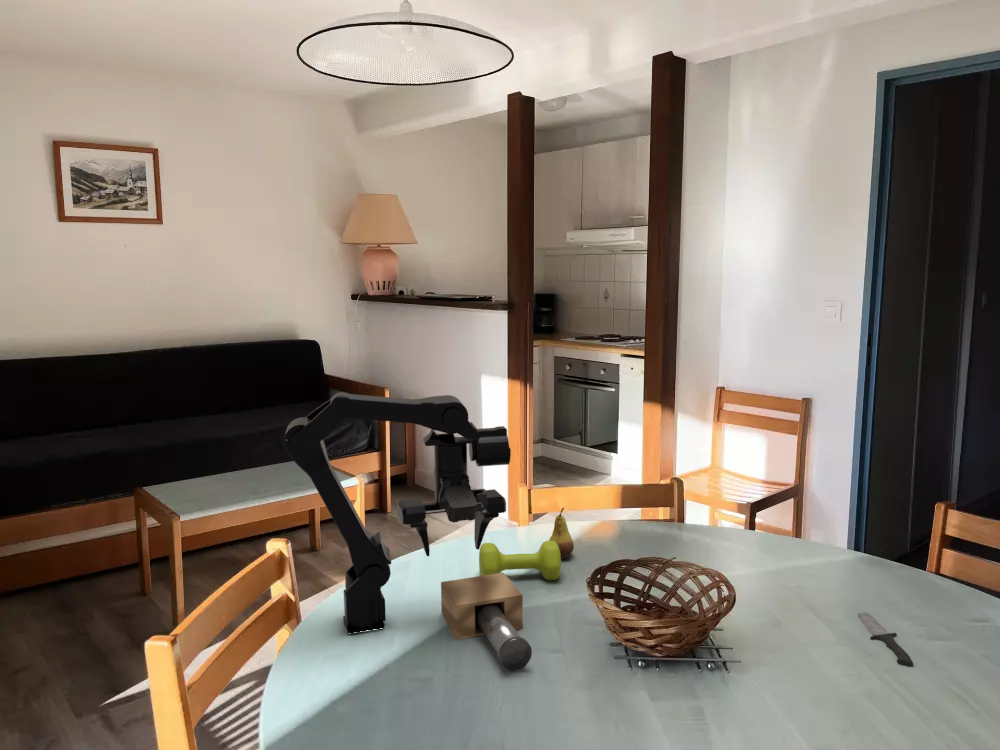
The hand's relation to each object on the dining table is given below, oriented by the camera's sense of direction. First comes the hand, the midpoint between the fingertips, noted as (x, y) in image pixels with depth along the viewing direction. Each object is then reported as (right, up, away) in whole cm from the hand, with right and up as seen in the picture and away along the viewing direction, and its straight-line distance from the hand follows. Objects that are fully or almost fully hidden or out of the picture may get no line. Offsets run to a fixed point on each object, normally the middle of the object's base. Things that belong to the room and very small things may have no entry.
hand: (452, 552), depth 137 cm
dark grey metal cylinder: (+9, -14, -10) cm, 19 cm away
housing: (+5, -12, -1) cm, 13 cm away
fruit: (+22, -8, +28) cm, 36 cm away
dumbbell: (+12, -10, +18) cm, 24 cm away
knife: (+74, -13, -6) cm, 75 cm away
